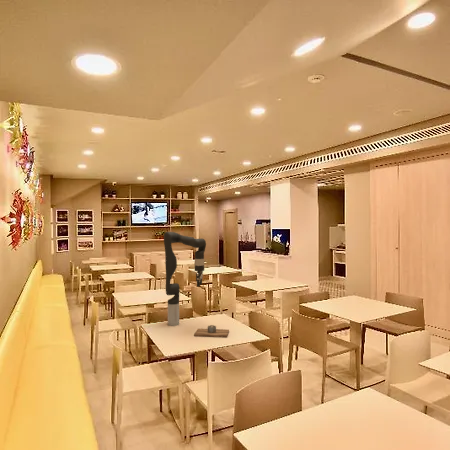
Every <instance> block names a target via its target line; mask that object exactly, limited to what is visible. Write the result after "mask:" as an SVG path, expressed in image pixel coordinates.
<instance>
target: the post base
mask: <svg viewBox="0 0 450 450" xmlns="http://www.w3.org/2000/svg"><path fill="white" fill-rule="evenodd" d="M209 326H210V325H209ZM210 327H213V326H210ZM229 333H230V329H223V328H222V329H220V328H219V329H218V328H216V333H208V328H197V329H196V331H195V332H194V334H193V336H194V337H201V338H203V337H204V338H225V339H227V338H228V336H229Z"/></svg>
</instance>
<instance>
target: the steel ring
mask: <svg viewBox="0 0 450 450" xmlns="http://www.w3.org/2000/svg"><path fill="white" fill-rule="evenodd" d="M210 326H213V327H210ZM207 329H208V333H216V329H217V325H214V324H211V325H208V326H207Z"/></svg>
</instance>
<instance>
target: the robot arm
mask: <svg viewBox="0 0 450 450" xmlns="http://www.w3.org/2000/svg"><path fill="white" fill-rule="evenodd" d="M177 243H180V244H183V245H185V246H189V247H192V248H195V249H197V250H196V251H195V252H194V271H195V272H196V273H195V281H196V287H198V288H199V287H200V286H202V285H203V279H204V271H205V252H206V246H207V243H206V239H204V238H195V237H193V236H188V235H183V234H180V233H178V232H176V231H165V232H164V234H163V246H164V255H165V257H164V258H165V260H164V261H165V263H164V265H165V294H166V295H167V296H173V297H171V298H169V299H168V300H167V326H168V327H169V326H170V327H176V326H179V325H180V293H181V292H180V289H181V288H180V285H179V283H178V282H177V283H171V280H172V278H173V275H174V274H175V272H176V270H177V269H178V268H177V267H178V260H177V256H176V254H175V253H174V251H173V246H172V245H173V244H177Z"/></svg>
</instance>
